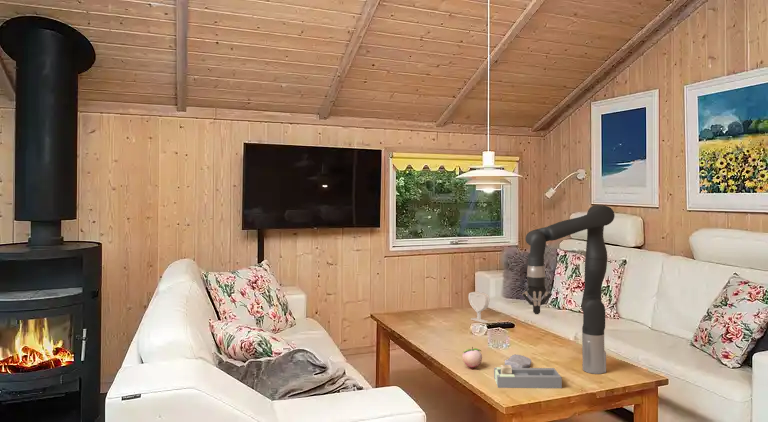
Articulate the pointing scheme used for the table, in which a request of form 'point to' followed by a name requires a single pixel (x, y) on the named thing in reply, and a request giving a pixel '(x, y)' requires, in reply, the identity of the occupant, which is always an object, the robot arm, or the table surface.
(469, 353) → the decorative fruit
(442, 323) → the table surface
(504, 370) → the cube
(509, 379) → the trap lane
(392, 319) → the table surface
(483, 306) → the heart sculpture
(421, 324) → the table surface
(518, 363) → the stone block
